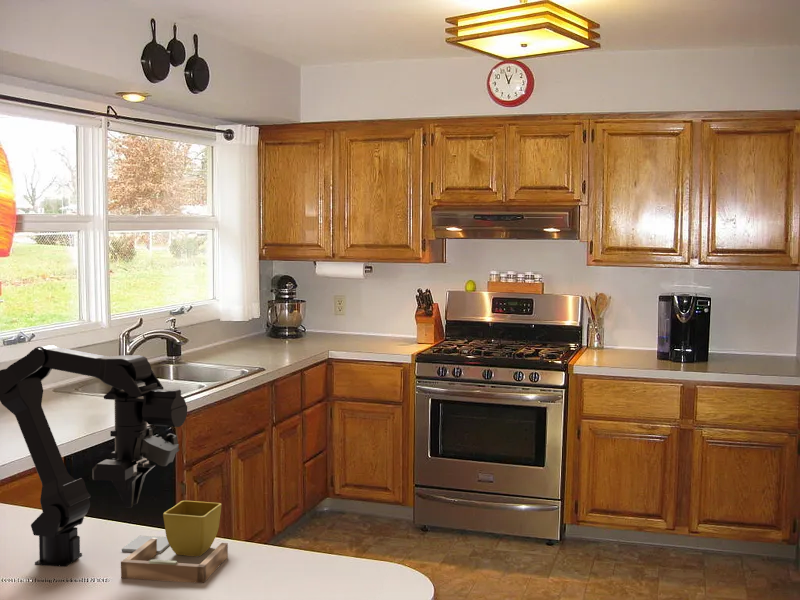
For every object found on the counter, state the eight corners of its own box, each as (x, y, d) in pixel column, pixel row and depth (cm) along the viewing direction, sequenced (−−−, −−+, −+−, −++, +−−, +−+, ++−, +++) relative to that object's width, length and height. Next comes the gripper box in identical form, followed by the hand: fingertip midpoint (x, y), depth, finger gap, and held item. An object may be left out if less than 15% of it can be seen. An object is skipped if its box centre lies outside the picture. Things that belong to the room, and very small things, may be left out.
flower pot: (204, 562, 163) (203, 516, 163) (162, 558, 165) (161, 513, 164) (222, 546, 172) (222, 503, 171) (182, 543, 173) (182, 500, 173)
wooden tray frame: (151, 553, 167) (150, 536, 167) (227, 558, 165) (227, 541, 165) (121, 577, 155) (120, 559, 155) (203, 583, 153) (203, 565, 152)
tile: (121, 551, 168) (121, 547, 168) (139, 538, 176) (139, 534, 176) (160, 553, 167) (160, 550, 167) (176, 540, 175) (176, 536, 175)
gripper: (150, 436, 148) (150, 523, 148) (191, 415, 166) (191, 493, 167) (90, 433, 149) (91, 520, 150) (137, 413, 168) (138, 491, 168)
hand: (131, 505), depth 159 cm, fingers closed
